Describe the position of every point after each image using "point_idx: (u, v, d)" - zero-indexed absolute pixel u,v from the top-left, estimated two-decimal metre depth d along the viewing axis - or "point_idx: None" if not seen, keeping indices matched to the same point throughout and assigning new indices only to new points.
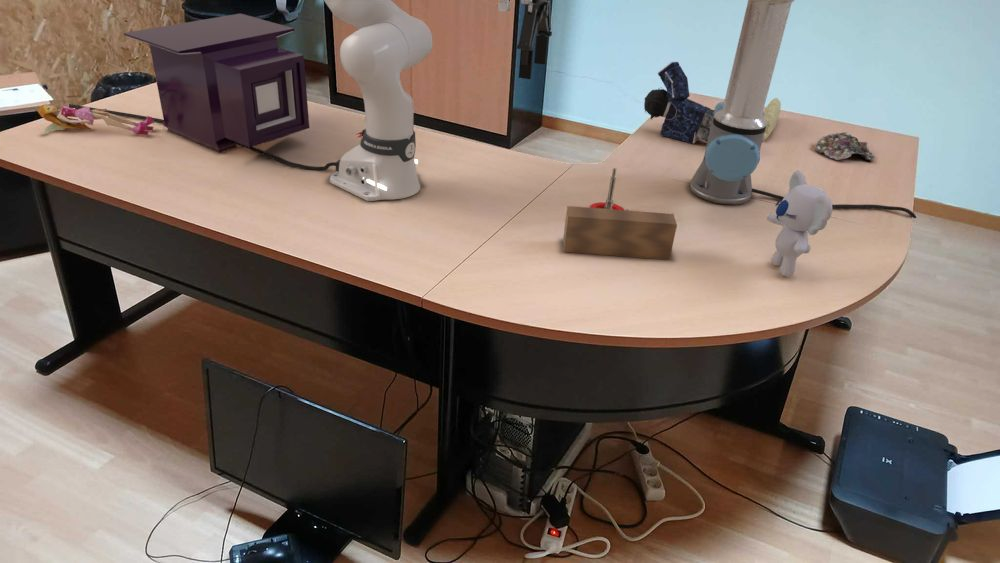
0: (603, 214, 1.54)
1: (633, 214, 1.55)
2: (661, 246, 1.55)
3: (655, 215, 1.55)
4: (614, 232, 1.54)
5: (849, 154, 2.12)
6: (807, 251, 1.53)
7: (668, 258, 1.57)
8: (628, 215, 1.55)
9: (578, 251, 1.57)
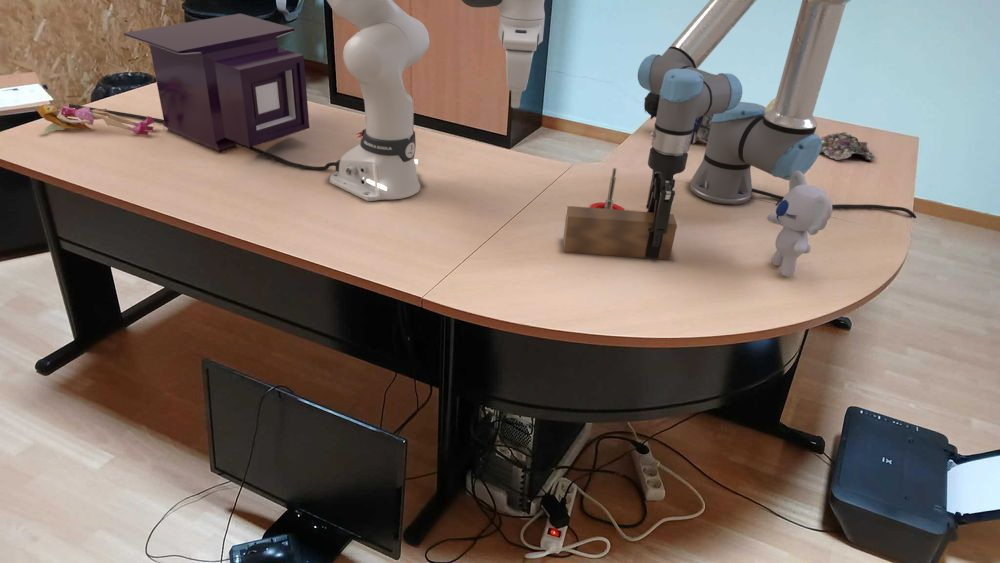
0: (603, 214, 1.54)
1: (633, 214, 1.55)
2: (661, 246, 1.55)
3: None
4: (614, 232, 1.54)
5: (849, 154, 2.12)
6: (807, 251, 1.53)
7: (668, 258, 1.57)
8: (628, 215, 1.55)
9: (578, 251, 1.57)
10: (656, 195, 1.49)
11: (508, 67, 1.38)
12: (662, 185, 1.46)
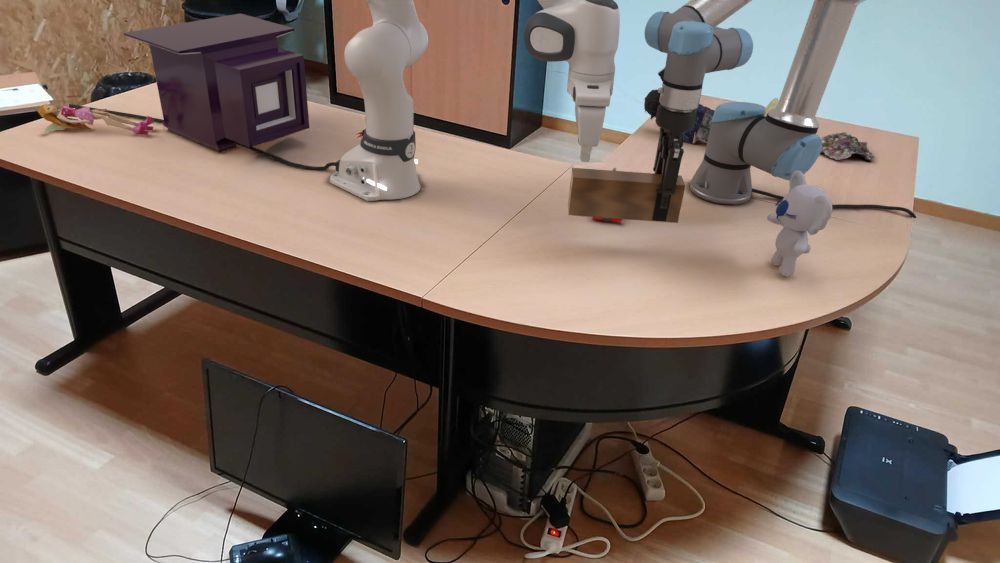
0: (609, 175, 1.50)
1: (640, 176, 1.50)
2: (669, 208, 1.51)
3: None
4: (621, 194, 1.49)
5: (849, 154, 2.12)
6: (807, 251, 1.53)
7: (676, 221, 1.52)
8: (634, 177, 1.50)
9: (583, 214, 1.52)
10: (664, 154, 1.44)
11: (580, 123, 1.36)
12: (670, 143, 1.42)
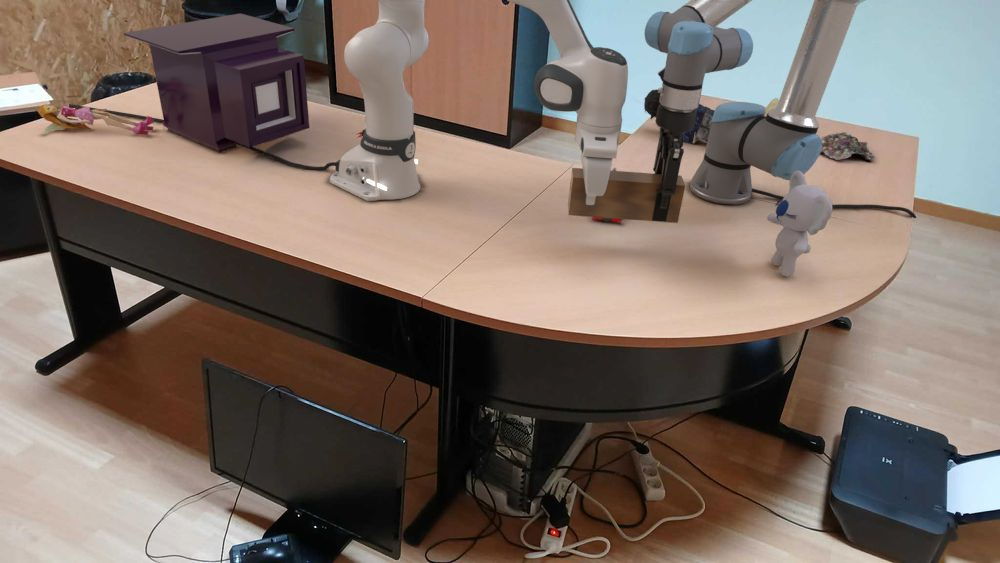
0: (609, 175, 1.50)
1: (640, 176, 1.50)
2: (669, 208, 1.51)
3: None
4: (621, 194, 1.49)
5: (849, 154, 2.12)
6: (807, 251, 1.53)
7: (676, 221, 1.52)
8: (634, 177, 1.50)
9: (583, 214, 1.52)
10: (664, 154, 1.44)
11: (587, 174, 1.40)
12: (670, 143, 1.42)
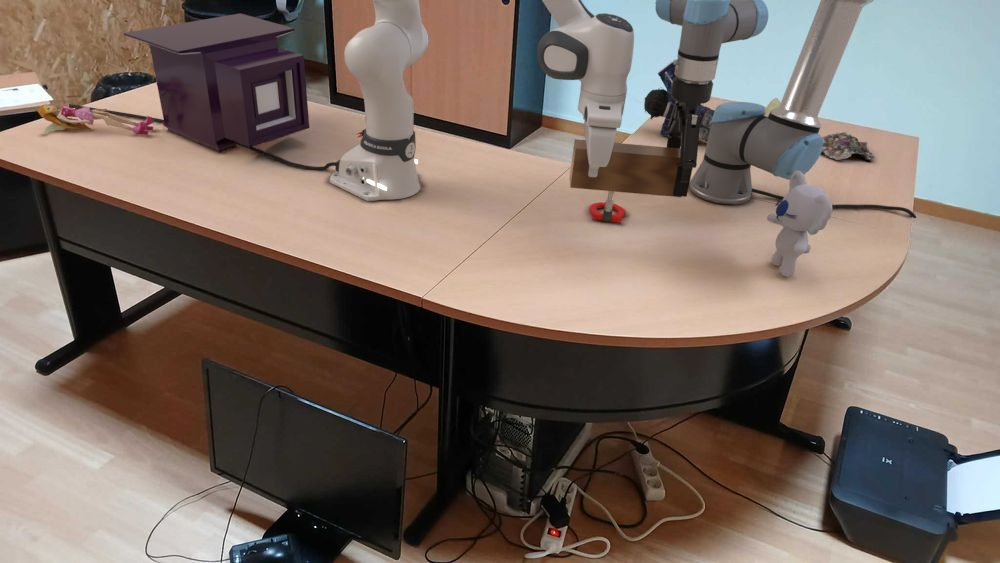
0: None
1: (644, 148, 1.47)
2: (672, 182, 1.48)
3: (667, 150, 1.48)
4: (624, 166, 1.46)
5: (849, 154, 2.12)
6: (807, 251, 1.53)
7: (680, 196, 1.49)
8: (638, 149, 1.47)
9: (585, 187, 1.49)
10: (681, 126, 1.40)
11: (591, 143, 1.36)
12: (686, 116, 1.39)
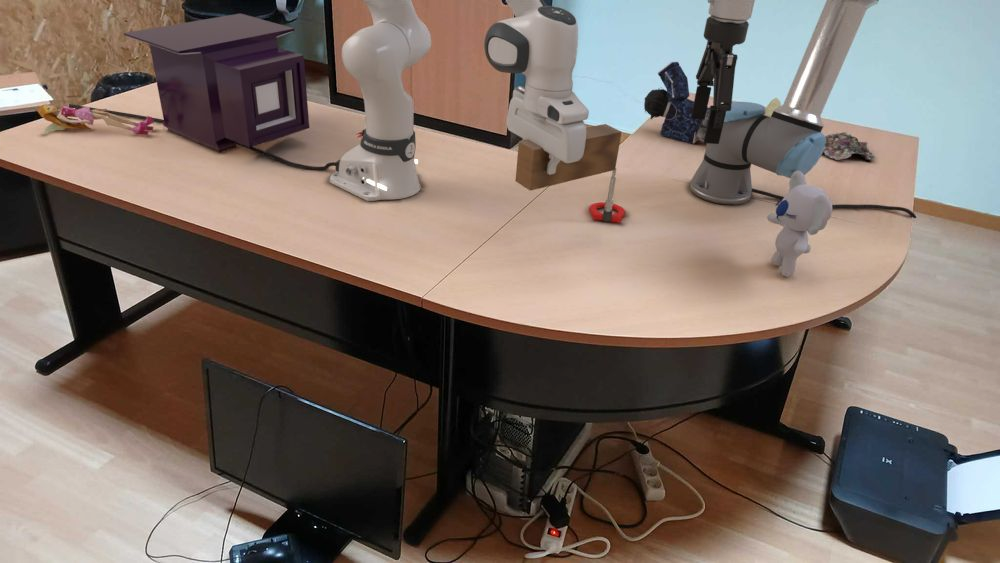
0: None
1: None
2: (609, 158, 1.53)
3: (596, 129, 1.51)
4: None
5: (849, 154, 2.12)
6: (807, 251, 1.53)
7: (614, 169, 1.55)
8: None
9: (542, 186, 1.45)
10: (715, 68, 1.34)
11: (569, 141, 1.33)
12: (720, 57, 1.33)
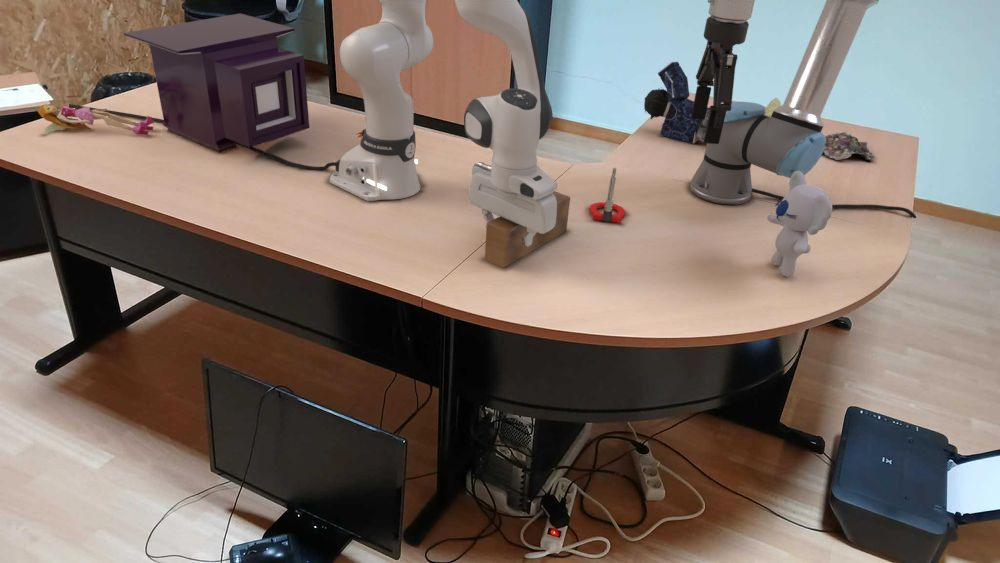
0: None
1: None
2: (561, 222, 1.62)
3: None
4: None
5: (849, 154, 2.12)
6: (807, 251, 1.53)
7: (565, 230, 1.65)
8: None
9: (512, 261, 1.52)
10: (715, 68, 1.34)
11: (545, 214, 1.40)
12: (720, 57, 1.33)
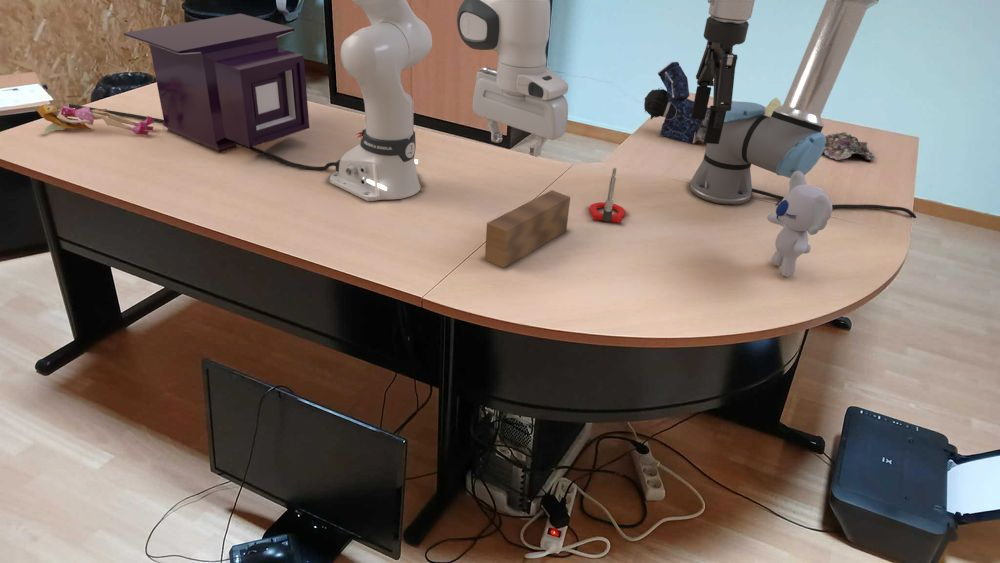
0: (520, 215, 1.51)
1: (535, 204, 1.56)
2: (561, 222, 1.62)
3: (547, 197, 1.60)
4: (535, 227, 1.54)
5: (849, 154, 2.12)
6: (807, 251, 1.53)
7: (565, 230, 1.65)
8: (534, 207, 1.55)
9: (512, 261, 1.52)
10: (715, 68, 1.34)
11: (555, 117, 1.30)
12: (720, 57, 1.33)
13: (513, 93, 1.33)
